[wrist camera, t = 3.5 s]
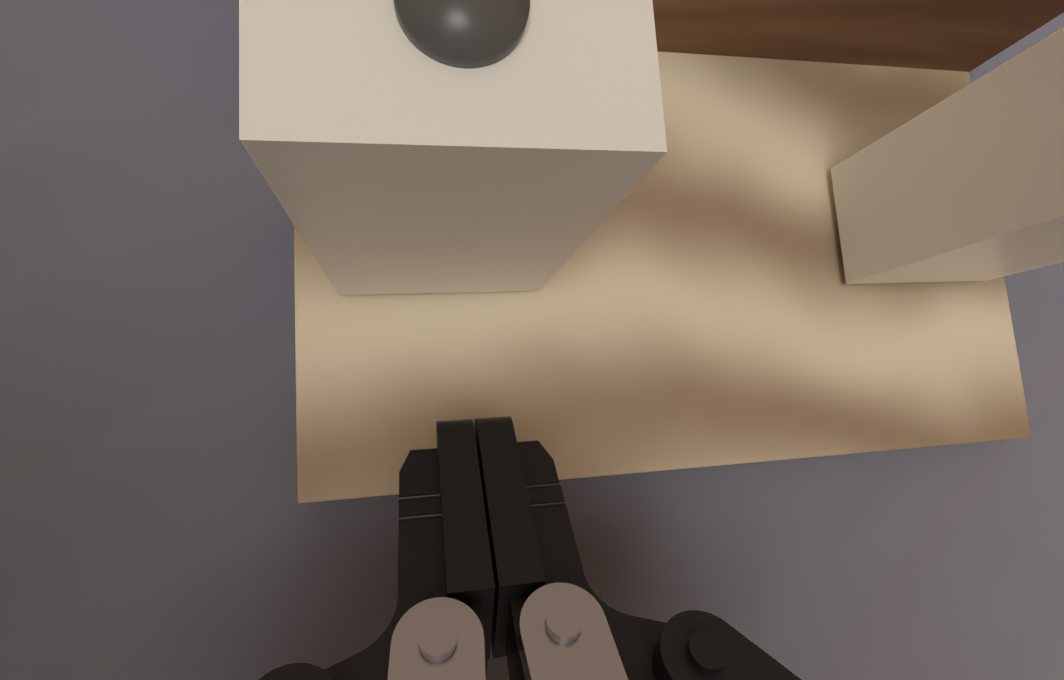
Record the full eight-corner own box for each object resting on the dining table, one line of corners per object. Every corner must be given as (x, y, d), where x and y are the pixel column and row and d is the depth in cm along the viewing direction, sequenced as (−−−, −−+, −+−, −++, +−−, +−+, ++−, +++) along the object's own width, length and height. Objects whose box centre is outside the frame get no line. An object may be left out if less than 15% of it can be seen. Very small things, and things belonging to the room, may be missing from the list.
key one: (538, 290, 17) (674, 144, 8) (338, 295, 16) (233, 129, 7) (529, 161, 17) (648, -117, 8) (335, 156, 16) (233, -169, 7)
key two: (985, 281, 20) (1446, 168, 11) (846, 283, 19) (1233, 161, 10) (967, 171, 21) (1394, -21, 12) (830, 168, 19) (1185, -48, 10)
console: (1002, 436, 21) (1180, 441, 16) (304, 498, 16) (255, 532, 11) (940, 53, 23) (1081, -46, 18) (297, 7, 18) (253, -146, 13)
